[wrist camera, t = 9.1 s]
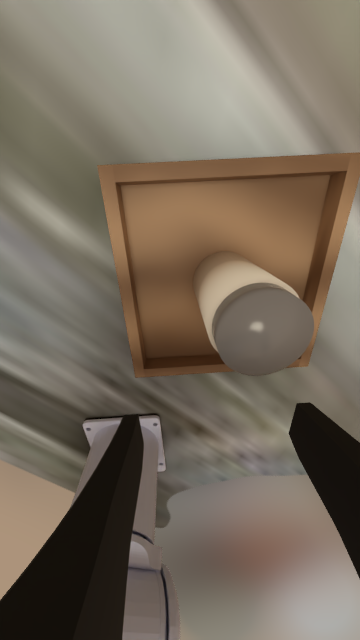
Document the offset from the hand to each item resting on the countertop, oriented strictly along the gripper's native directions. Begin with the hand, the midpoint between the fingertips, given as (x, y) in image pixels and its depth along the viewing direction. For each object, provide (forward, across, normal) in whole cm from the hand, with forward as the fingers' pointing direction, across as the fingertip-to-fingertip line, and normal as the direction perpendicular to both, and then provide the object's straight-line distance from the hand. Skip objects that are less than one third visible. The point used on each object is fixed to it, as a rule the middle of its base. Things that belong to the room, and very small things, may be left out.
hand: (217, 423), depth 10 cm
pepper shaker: (+9, -2, -4) cm, 10 cm away
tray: (+9, -2, -4) cm, 10 cm away
